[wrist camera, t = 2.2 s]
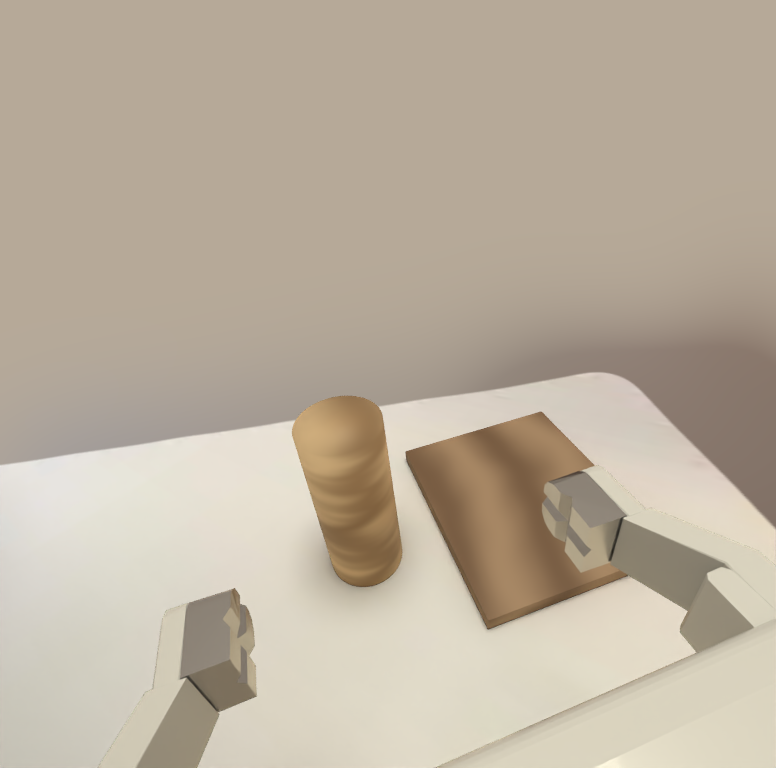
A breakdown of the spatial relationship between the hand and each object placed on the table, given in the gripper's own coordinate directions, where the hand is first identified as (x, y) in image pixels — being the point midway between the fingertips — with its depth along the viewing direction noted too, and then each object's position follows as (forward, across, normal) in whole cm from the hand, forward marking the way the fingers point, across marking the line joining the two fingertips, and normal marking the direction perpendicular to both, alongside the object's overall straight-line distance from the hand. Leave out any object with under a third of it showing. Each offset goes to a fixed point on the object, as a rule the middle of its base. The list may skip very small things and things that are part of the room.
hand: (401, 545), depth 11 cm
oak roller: (+12, 0, +17) cm, 21 cm away
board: (+12, -12, +18) cm, 24 cm away
